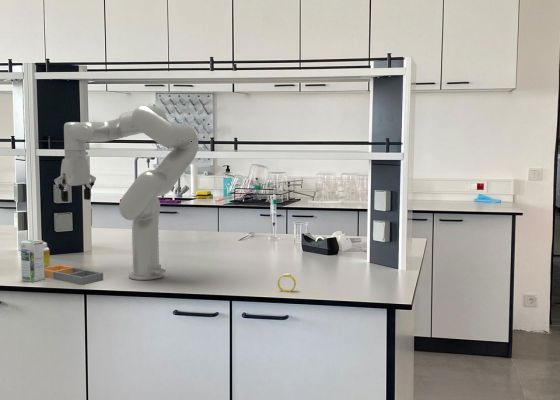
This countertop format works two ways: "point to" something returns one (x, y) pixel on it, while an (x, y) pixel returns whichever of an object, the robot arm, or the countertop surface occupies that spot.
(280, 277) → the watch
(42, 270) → the syrup box
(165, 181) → the robot arm
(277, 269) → the countertop surface
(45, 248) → the supplement bottle
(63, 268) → the compartment tray
